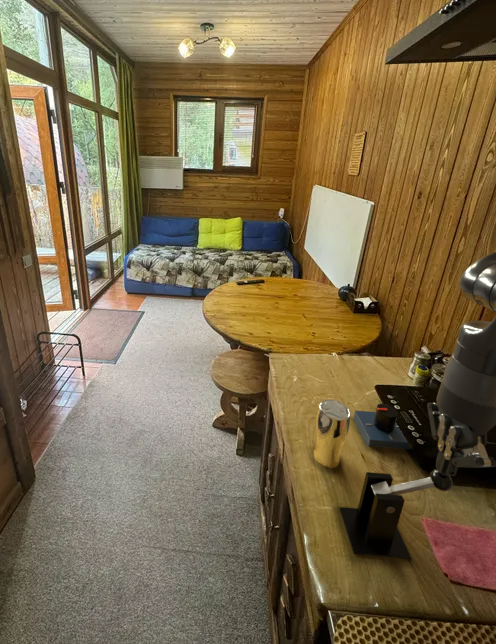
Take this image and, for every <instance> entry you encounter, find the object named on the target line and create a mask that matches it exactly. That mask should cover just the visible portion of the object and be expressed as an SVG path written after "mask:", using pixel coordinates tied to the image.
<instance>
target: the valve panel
mask: <svg viewBox="0 0 496 644" xmlns="http://www.w3.org/2000/svg"><path fill="white" fill-rule="evenodd" d="M375 412H376V411H369V410H354V413H353V422H354V424H355V426H356V428H357V430H358V432H359V434H360V436H361V438H362V440H363V442H364V444H365V446H366V447H373V448H388V449H400V450H401V449H403V450H412V449H411V448H410V446H409V445H408V442H407V440H406V438H405V437H404V435H403V433H402V431H401V430H400V428H399V426H398V425H397V423H396V424H395V428H394V431H393V432H391V433H386V432H383V431H381V430H379V429H377V428H376V427H375V425H374V423H373V421H374V417H375Z"/></svg>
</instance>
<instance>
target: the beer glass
mask: <svg viewBox="0 0 496 644" xmlns="http://www.w3.org/2000/svg"><path fill="white" fill-rule="evenodd" d="M351 414H352V413H351V410H350V409H349V407H348V406H347V405H346V404H345V403H343V402H341V401H339V400H336V399H333V398H328V399H323V400H321V402H320V403H319V407H318V410H317V415H316V419H315V436H316V444H315V448H314V450H313V457H314V459H315V460H316V461H317V463H318V464H320V465H322V466H323V467H326V468H336V467H338V465H339V464H340V462H341V460H340V454H341V450H342V448H343V446H344V444H345V442H346V441H347V437H348V434H349V430H350V424H351Z"/></svg>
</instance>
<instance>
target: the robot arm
mask: <svg viewBox="0 0 496 644" xmlns="http://www.w3.org/2000/svg"><path fill="white" fill-rule="evenodd" d="M459 289H460V291H461V294H462V295H463V296H464V297H465V298H466V299H468V300H469V301H471V302H473V303H475V304H476V305H478V306H481V307H484V308H485V309H488V310H490V311H492V312H494V313H496V251H494V252H492V253H489V254H487V255H485V256H483V257H480V258H479V259H477V260H475V261H474V262H472V263H471V264H470V265H469V266H467V268H466V269H465V270H464V271H463V274H462V275H461V278H460V280H459ZM426 406H427V412H428V413H427V414H428V418H429V425H430V429H431V430H430V431H431V437H432V438H433V440H435V441H437V449H438V453H437V457H436V460H435V469H438V471H439V472H440V473H441V475H446V476H450V477H455V476H456V475H457V473H458V470H459V468H467V469H479V468H482V469H483V468H496V459H495V458H494V457H492V456H489V455H488V453H487V450H486V447H485V446H486V445H487V443H488V432H489V431H490V430H491V429H493V428H494V427H495V426H496V315H495V316H494V317H493V320H491V321H487V320H486V321H485V320H478V319H476V320H475V319H474V320H468V321H466V322H465V323H463V324H462V325H461V327H460V329H459V331H458V333H457V337H456V341H455V345H454V347H453V350H452V353H451V355H450V358H449V359H448V362H447V364H446V366H445V369H444V373H443V375H442V379H441V383H440V386H439V389H438V391H437V395H436V402H428V403H427V405H426Z"/></svg>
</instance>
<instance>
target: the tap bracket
mask: <svg viewBox="0 0 496 644" xmlns="http://www.w3.org/2000/svg"><path fill="white" fill-rule="evenodd" d="M384 481H386V482H387V484H388V486H392V484H393V481H394V478H393V476H392V474H391V473H382V472H372V471H371V472H369V471H365V476H364V480H363V484H362V488H361V493H360V497H359V502H358V506H357V508H356V507H344V506H343V507H342V506H339V507H338V509H339V510H338V511H339V512H340V516H341V520H342V523H343V525H344V529H345V532H346V534H347V538H348V541H349V544H350V548H351V550H352V553H353V555H363V556H373V557H374V556H375V557H383V558H395V559H405V560H412V555H411V554H410V552H409V549H408V548H407V546H406V544H405V541H404V539H403V537H402V534H401V532H400V531H399V529H398V528H399V527H398V525H399V521H400V518H401V515H402V512H403V508H404V505H405V499H404V497H403V494H400V495H391V494H379V493H376V494H375V495H374V493H373V490H372V487H371V485H372V484H376V483H380V482H384Z"/></svg>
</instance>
